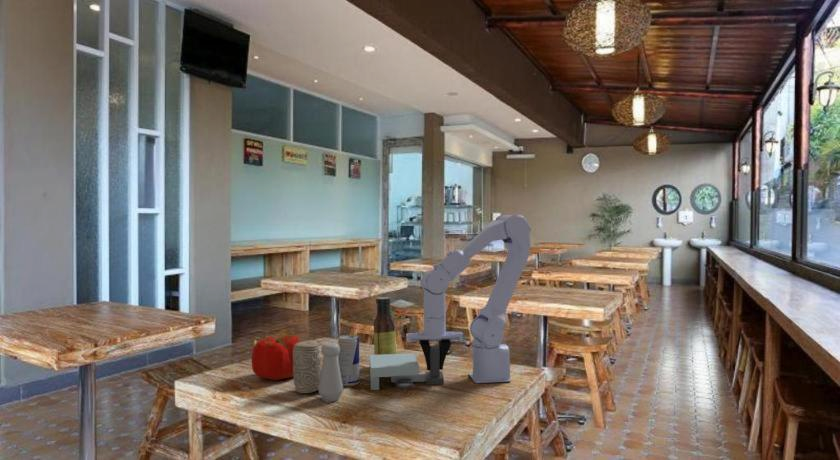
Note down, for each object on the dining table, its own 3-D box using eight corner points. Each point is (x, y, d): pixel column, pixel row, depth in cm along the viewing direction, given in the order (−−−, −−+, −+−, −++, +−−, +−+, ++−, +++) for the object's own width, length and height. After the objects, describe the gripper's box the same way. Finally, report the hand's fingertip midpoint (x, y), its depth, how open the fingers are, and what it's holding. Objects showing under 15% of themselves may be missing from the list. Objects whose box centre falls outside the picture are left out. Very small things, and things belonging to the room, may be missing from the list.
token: (412, 382, 130) (412, 378, 130) (413, 388, 126) (413, 383, 126) (395, 383, 130) (395, 378, 130) (396, 388, 125) (396, 384, 125)
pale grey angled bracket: (414, 373, 138) (413, 353, 138) (419, 387, 126) (419, 365, 126) (369, 375, 137) (369, 354, 136) (371, 390, 125) (370, 367, 125)
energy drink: (363, 381, 131) (363, 335, 131) (352, 387, 126) (351, 340, 126) (345, 378, 134) (345, 333, 133) (334, 384, 129) (333, 338, 128)
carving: (305, 385, 128) (304, 338, 128) (327, 390, 125) (327, 342, 124) (286, 392, 123) (286, 343, 123) (310, 398, 119) (309, 347, 119)
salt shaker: (338, 404, 115) (337, 347, 115) (314, 402, 116) (313, 346, 116) (346, 395, 121) (346, 341, 121) (324, 394, 122) (323, 340, 122)
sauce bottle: (400, 366, 145) (400, 297, 145) (388, 371, 140) (387, 300, 139) (382, 362, 148) (382, 295, 148) (369, 368, 143) (368, 298, 143)
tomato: (298, 367, 145) (298, 330, 144) (309, 380, 133) (308, 340, 132) (248, 373, 139) (248, 335, 138) (255, 387, 127) (254, 346, 127)
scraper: (442, 376, 133) (442, 343, 132) (443, 383, 129) (444, 350, 128) (391, 377, 133) (391, 344, 131) (391, 385, 128) (391, 351, 127)
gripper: (459, 312, 135) (459, 363, 135) (405, 314, 133) (405, 365, 133) (464, 318, 128) (464, 371, 128) (407, 319, 126) (407, 373, 126)
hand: (434, 369), depth 130 cm, fingers closed on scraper, 2 cm apart
